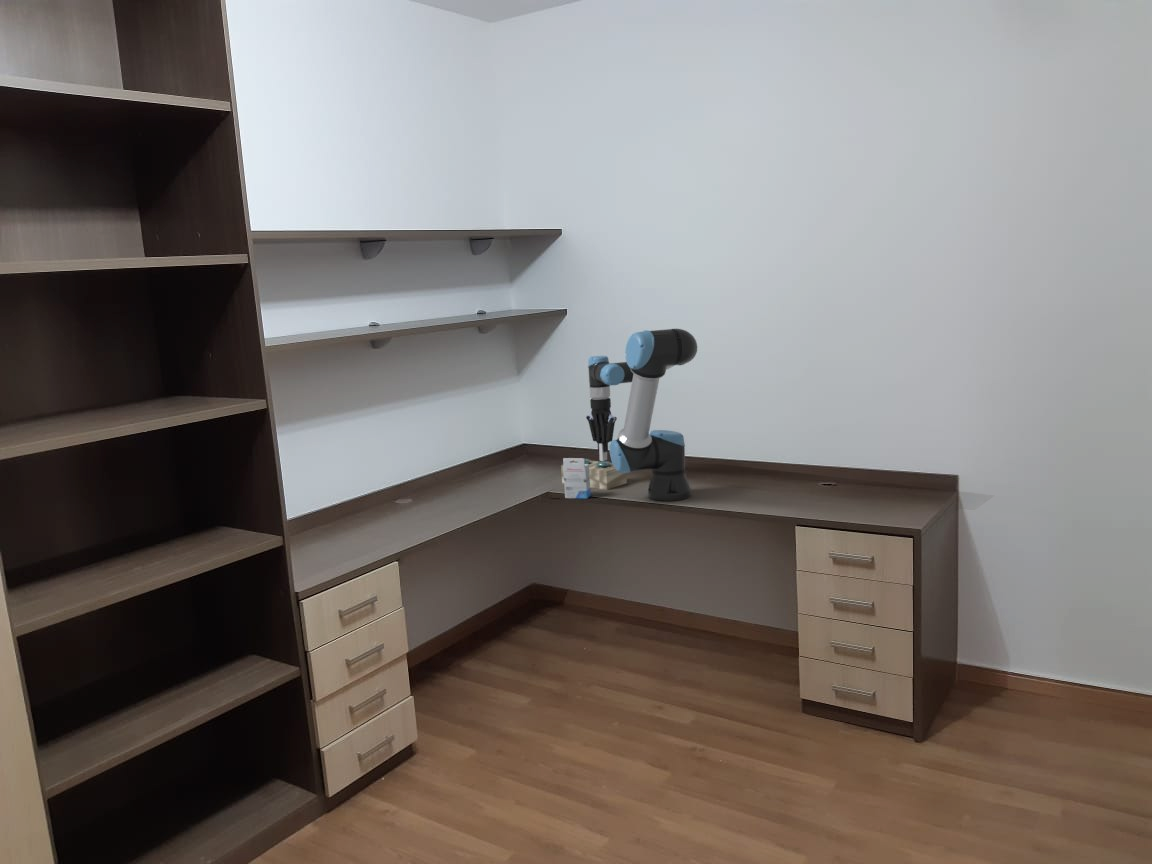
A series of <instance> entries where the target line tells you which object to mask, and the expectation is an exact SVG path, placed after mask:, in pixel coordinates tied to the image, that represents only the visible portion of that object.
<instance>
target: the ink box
mask: <svg viewBox="0 0 1152 864" xmlns="http://www.w3.org/2000/svg"><path fill="white" fill-rule="evenodd" d="M584 459H585V458H584V457H580V458H579V457H578V458H577V457H576V458H575V457H568V458H567V457H563V458H562V460H563V461H562V465H563V473H564V483H563V485H564V498H565V499H585V500H586V499H588V498H590V497H591V495H592V493H591V492H592V491H591V487H590V473H589V464H585V460H584ZM574 461H577V462H578V463H571V462H574Z"/></svg>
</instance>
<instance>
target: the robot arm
mask: <svg viewBox="0 0 1152 864" xmlns="http://www.w3.org/2000/svg"><path fill="white" fill-rule="evenodd" d="M697 353H698V343H697V340H696V339H695V337H694V335H693V334H692V333H690V332H689V331H687V330H686V329H685V330H684V329H682V328H669V329H657V330H643V331H637V332H634V333H632V334H631V335H630V336H629V338H628V340H627V342H626V346H625V361H622V362H621V361H620V362H612V363H611V362H610V361H609V357H608V356H607V355H594V356H590V357H588V359H587V360H588V361H587V362H588V366H587V368H588V381H589V382H588V383H589V397H590V398H591V399H590V400H589V401H590V403H589V404H590V409H591V411H590V412H591V413H590V414H589V415H586V417H585V418H586V420H587V423H588V425H589V429H590V433H591V437H592V441H593V442H595V443H597V451H598V452H599V462H601V461H608V452H609V455H610V457H609V458H610V460H611V463H613V466H614V468H615V469H616V470H617V471H618V472H619V473H626V474H627V473H628V474H630V473H635V472H641V471H642V472H643V471H647V470H651V477H650V482H649V485H648V489H647V497H648V498H649V499H651V500H654V501H665V502H668V501H669V502H670V501H671V502H672V501H681V500H684V499H685V500H686V499H688V498H690V497H691V496H692V488H691V486H690V483H689V481H688V478H687V475H686V459H685V458H686V455H685V454H686V453H685V450H686V448H685V446H686V445H685V438H684V435H683V434H682V433H681V432H679V431H674V430H673V431H672V430H667V429H666V430H665V429H654V430H651V431H650V428H651V424H652V423H651V422H652V419H653V414H654V407H655V405H656V404H655V403H656V397H657V393H658V388H659V382H660V379H661V378H663V377H664V376H665V374H666V371H667V370H670V369H671V368H673V367H675V366H683V365H685V364H687V363H688V364H689V363H690V362H691V361H693V359H694V358H695V357H696V355H697ZM627 383H631V386H630V392H629V396H628V403H627V409H626V414H625V419H624V425H623V428H622V429H620V430H619V432H618V435H617V439H613V438H614V431H615V424H616V421H617V419H618V418H617V416H614V415H612V412H611V406H612V402H611V388H610V387H611V386H617V385H620V384H627Z"/></svg>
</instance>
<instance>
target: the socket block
mask: <svg viewBox="0 0 1152 864" xmlns="http://www.w3.org/2000/svg"><path fill="white" fill-rule="evenodd" d="M597 462H599V461H598V460H590V462H589V463H588V464H589V473H590V489H598V490H605V491H608V490H612V489H614V488H617V487H620V486H623V485H626V484H627V483H628V481H627V480H628V479H627V478H628V477H627V473H619V472H618V471H617V470H616V469H615V468H614V466H613V463H612V462H610V465H609V467H608V468H598V466H597ZM570 463H576V461H570ZM560 468H561V469H560V470H561V484H564V473H563V464H561V465H560Z"/></svg>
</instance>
